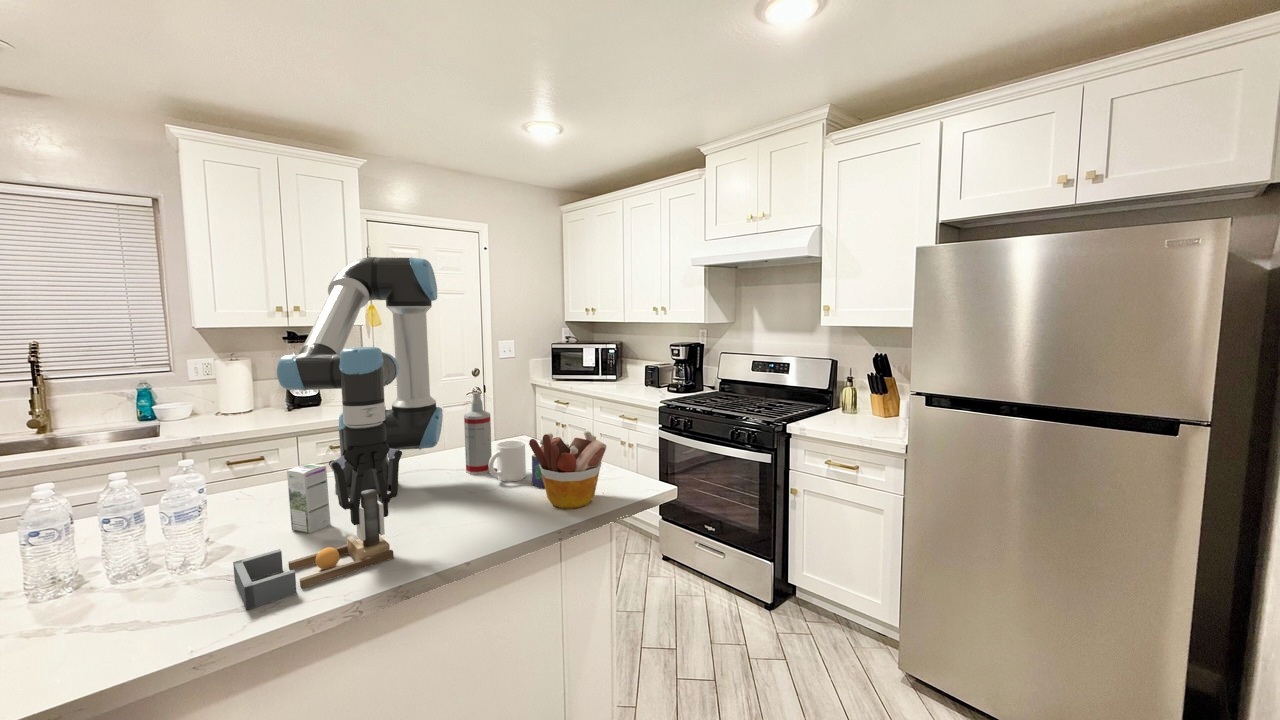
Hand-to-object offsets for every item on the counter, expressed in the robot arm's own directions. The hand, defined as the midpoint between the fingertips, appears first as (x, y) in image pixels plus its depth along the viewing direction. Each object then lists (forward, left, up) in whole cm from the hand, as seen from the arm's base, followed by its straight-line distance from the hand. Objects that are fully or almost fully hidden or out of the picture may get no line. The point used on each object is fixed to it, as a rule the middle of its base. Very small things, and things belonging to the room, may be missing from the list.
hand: (371, 535), depth 105 cm
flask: (-8, +49, -4) cm, 49 cm away
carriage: (0, 0, -4) cm, 4 cm away
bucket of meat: (+6, +47, -4) cm, 47 cm away
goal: (0, -17, -4) cm, 18 cm away
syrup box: (-24, -5, -4) cm, 25 cm away
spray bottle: (-35, +42, -4) cm, 55 cm away
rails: (0, -5, -4) cm, 7 cm away
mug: (-22, +45, -4) cm, 50 cm away
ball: (0, -8, -2) cm, 8 cm away
